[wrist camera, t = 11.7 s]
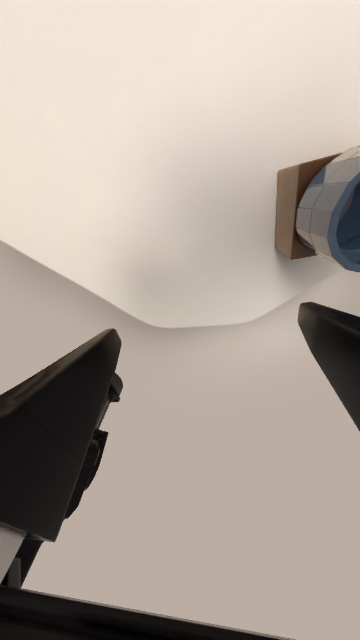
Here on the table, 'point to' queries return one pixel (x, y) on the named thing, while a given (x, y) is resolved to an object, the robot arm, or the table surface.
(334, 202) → the bowl
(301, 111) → the table surface
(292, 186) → the walnut block
